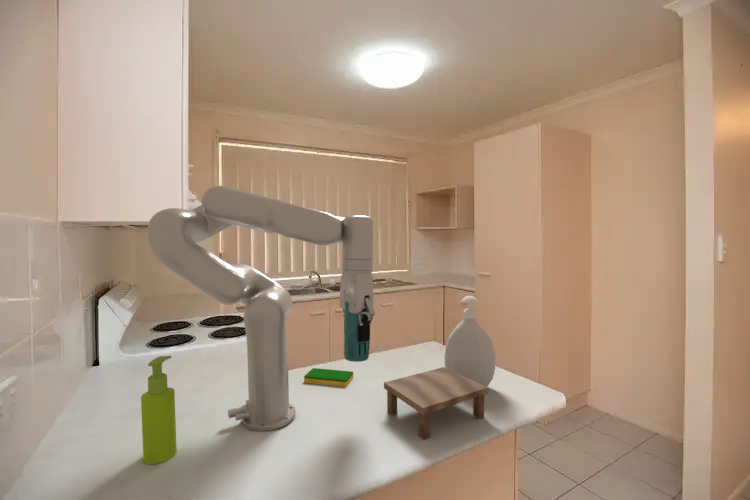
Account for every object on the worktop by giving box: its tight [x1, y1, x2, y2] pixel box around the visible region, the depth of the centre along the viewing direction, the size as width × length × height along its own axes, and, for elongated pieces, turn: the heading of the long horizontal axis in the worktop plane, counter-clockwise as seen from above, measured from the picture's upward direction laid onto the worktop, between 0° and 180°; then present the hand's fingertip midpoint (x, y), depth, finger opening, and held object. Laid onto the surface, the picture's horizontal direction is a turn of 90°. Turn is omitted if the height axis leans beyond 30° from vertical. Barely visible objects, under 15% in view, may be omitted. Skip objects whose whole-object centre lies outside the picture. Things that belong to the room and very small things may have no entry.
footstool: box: [383, 366, 489, 440], centre depth 90 cm, size 20×16×8 cm
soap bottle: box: [444, 295, 496, 387], centre depth 107 cm, size 14×8×27 cm, turn 77°
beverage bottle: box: [343, 302, 371, 363], centre depth 90 cm, size 6×7×20 cm
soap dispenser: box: [140, 355, 177, 465], centre depth 75 cm, size 6×7×20 cm
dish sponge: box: [303, 367, 354, 387], centre depth 113 cm, size 7×14×2 cm, turn 75°
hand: (356, 336), depth 90 cm, fingers closed on beverage bottle, 6 cm apart
